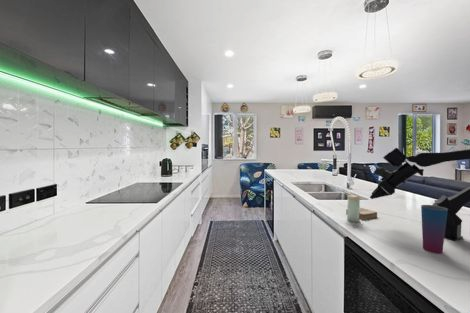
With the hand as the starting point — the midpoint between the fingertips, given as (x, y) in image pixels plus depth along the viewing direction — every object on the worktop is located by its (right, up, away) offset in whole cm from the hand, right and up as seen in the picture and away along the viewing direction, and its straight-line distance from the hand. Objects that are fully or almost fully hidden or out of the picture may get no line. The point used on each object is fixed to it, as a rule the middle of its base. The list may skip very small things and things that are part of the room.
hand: (371, 196), depth 103 cm
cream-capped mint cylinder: (-6, -13, +5) cm, 15 cm away
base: (+2, -12, +12) cm, 17 cm away
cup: (+5, -14, -26) cm, 30 cm away
